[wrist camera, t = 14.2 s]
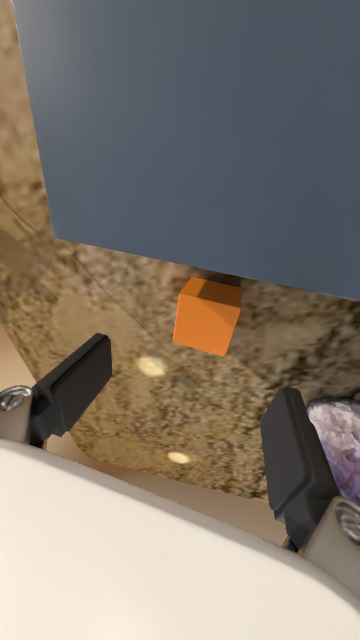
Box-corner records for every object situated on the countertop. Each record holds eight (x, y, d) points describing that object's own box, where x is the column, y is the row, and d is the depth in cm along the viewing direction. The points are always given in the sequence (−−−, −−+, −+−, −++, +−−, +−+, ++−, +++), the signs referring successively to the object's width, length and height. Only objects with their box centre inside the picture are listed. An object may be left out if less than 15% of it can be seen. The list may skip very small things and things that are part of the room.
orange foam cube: (240, 287, 17) (241, 308, 13) (227, 328, 19) (225, 357, 16) (192, 276, 18) (179, 293, 14) (184, 318, 20) (172, 342, 16)
